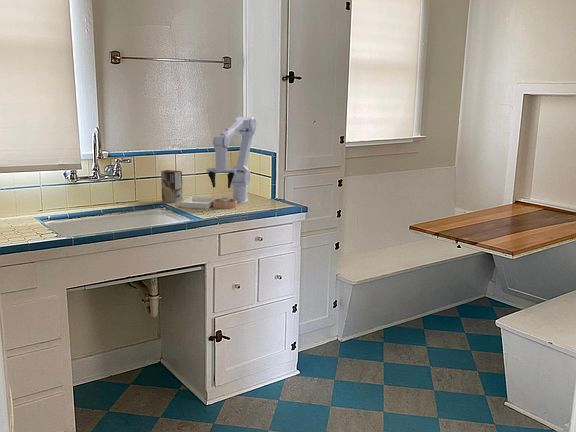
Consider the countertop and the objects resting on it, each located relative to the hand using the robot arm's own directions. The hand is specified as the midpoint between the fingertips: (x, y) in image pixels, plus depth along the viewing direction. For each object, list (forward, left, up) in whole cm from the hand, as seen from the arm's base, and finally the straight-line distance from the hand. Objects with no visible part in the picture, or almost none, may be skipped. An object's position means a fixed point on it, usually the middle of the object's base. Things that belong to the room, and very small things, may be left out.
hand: (221, 187), depth 302 cm
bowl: (0, +1, -10) cm, 10 cm away
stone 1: (+2, +1, -9) cm, 10 cm away
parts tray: (-1, -12, -10) cm, 15 cm away
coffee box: (-7, -28, -10) cm, 31 cm away
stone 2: (-3, +1, -9) cm, 10 cm away
